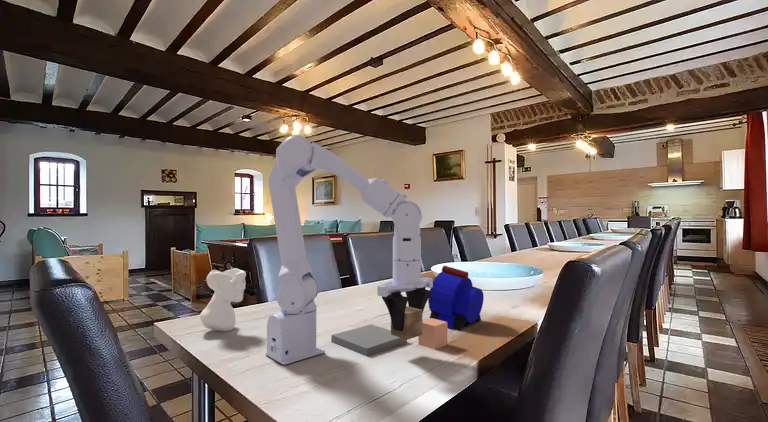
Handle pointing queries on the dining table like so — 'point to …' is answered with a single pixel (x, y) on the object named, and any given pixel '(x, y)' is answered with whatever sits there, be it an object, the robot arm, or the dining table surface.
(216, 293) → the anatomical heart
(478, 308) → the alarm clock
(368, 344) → the base plate
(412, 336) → the walnut block
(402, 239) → the robot arm
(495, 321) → the dining table surface
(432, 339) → the terracotta block
